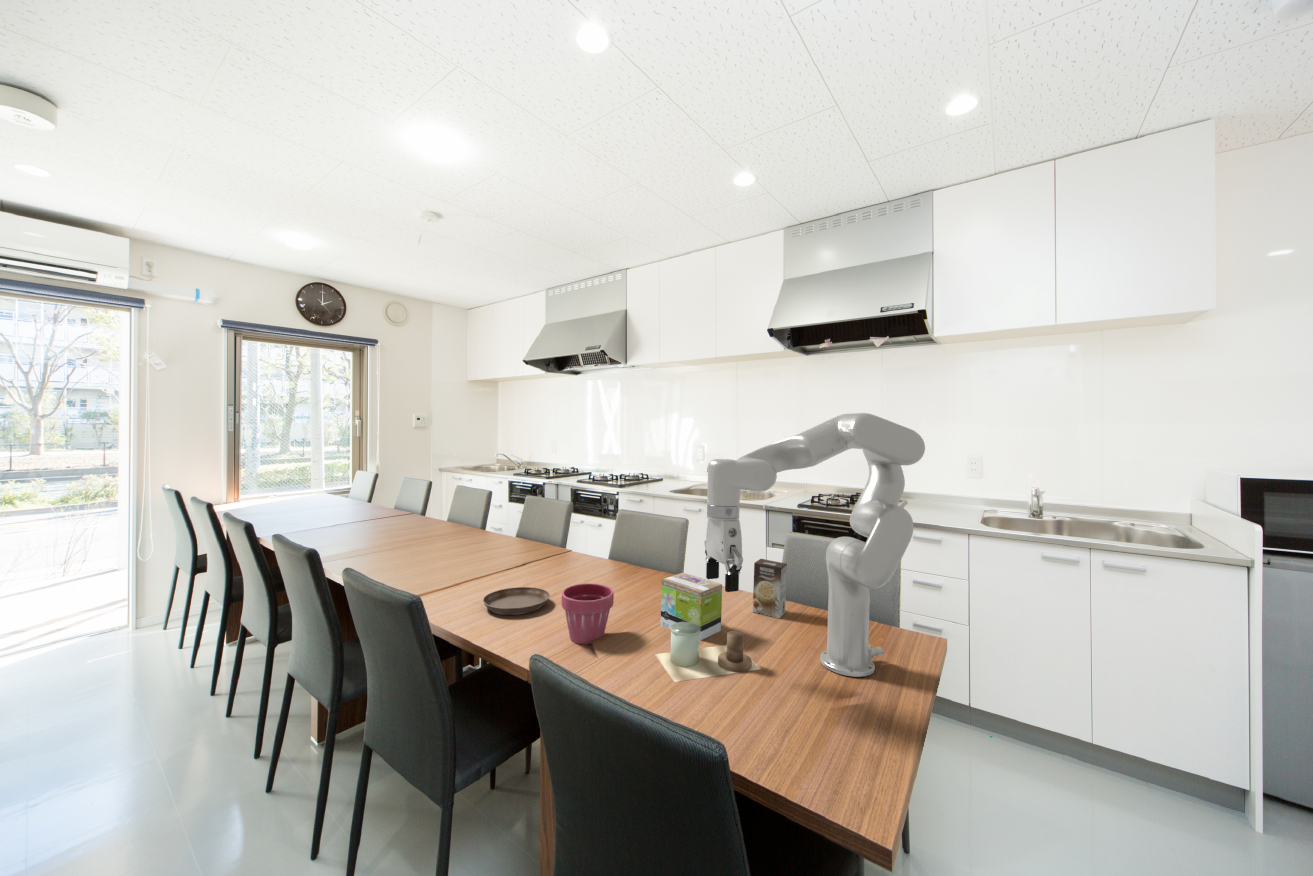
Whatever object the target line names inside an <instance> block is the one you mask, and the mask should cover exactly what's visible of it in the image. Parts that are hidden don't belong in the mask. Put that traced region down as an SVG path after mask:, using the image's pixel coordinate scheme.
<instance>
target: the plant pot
mask: <svg viewBox="0 0 1313 876" xmlns="http://www.w3.org/2000/svg"><path fill="white" fill-rule="evenodd" d="M614 593H615V592H614V589H613V588H611V586H610V587H609V586H607V585H605V584H600V583H590V582H589V583H586V582H585V583H578V584H573V585H570V586H567V587H566V588H564V589H563V591H562V592H561V608H562V609H563V610H564V612H565V618H566V623H567V629H568V634H569V639H570V641H572V642H573V643H574V644H579V645H592V641H594V640H598V639H600V638H602V637H603V636H604V635H605V632H606V628H607V623H608V618H609V614H610V610H611V609H612V607H613V606H614V602H615V601H614V597H615V596H614V595H615V594H614Z"/></svg>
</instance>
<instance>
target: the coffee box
mask: <svg viewBox="0 0 1313 876" xmlns="http://www.w3.org/2000/svg"><path fill="white" fill-rule="evenodd" d="M787 566H788V564H787V563H785V562H781V561H776V560H769V559H764V558H760V559H758V560H756V561H755V562H754V565H753V586H752V587H753V591H752V593H753V594H752V613H754V612H755V613H754V614H758V613H760V614H759V615H762V614H763V615H762V616H766V615H768V616H767V617H770V616H772V617H771V618H775V619H778V618H779V619H780V618H781V617H783V615H785V613H786V598H787V597H786V595H787V593H786V591H787V590H786V589H787V572H788V571H787V569H788V568H787Z"/></svg>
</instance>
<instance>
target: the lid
mask: <svg viewBox="0 0 1313 876" xmlns="http://www.w3.org/2000/svg"><path fill="white" fill-rule="evenodd" d="M744 639H745V636H744V633H743V632H741V631H739V630H738V631H737V630H729V631H727V632H726V645H727V652H723V653H721V654H720V655H719V656H718V664H719V666H720V667H721V668H723V669H725V670H728V671H732V672H739V673H744V671H746V672H748V671H747V670H749V669H750V668H751V665H752V661H753V660H752V657H750V655H748V654H746V653H744V645H745V644H744V641H745V640H744ZM743 653H744V654H743Z"/></svg>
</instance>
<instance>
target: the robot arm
mask: <svg viewBox="0 0 1313 876" xmlns="http://www.w3.org/2000/svg"><path fill="white" fill-rule="evenodd" d="M851 449H854V450H855V449H857V450H858V449H859V450H862V452H863V454H864V457H865V460H866V461H867V466H868V478H867V481H866V483H865V485H864V488H863V490H862V492H861V494H860V496H859V497H858V499H857V501H856V503H855V505H854V507H853V509H852V511H851V514H850V516H849V525H850V527H851V529H852V530H853V531H854V532H855V533H857V534H859V535H861V536H863V537H865V538H867V539H866V541H863V540H860V539H858V538H855V537H852V536H839V537H837V538H834V539H833V540H832V541H831V542H829V544H828V546H827V547H826V550H825V551H826V552H825V564H826V565H825V566H826V570H827V571H826V572H827V580H828V599H827V600H828V601H827V635H826V638H827V639H826V650H823V652H821V653H820V656H819V658H820V660H819V661H820V663H821V664H822V666H823V667H824V668H825V669H828V670H829V671H832V672H834V673H836V674H839V675H842V676H847V677H852V678H853V677H855V678H858V677H859V678H862V677H868V676H871V675H873V674H874V673H875V670H876V669H875V667H876V666H875V663H874V662H873V660H872V659H873V658H874V657H878V656H883V655H884V649H883V648H882V647H881V646H876V647H872V645H870V644H869V637H870V636H869V635H870V633H869V630H870V629H869V628H870V607H871V606H870V604H871V601H870V600H871V598H870V597H871V595H870V589H879V588H882V587H884V586H885V585H887V583H889V581H890V580H891V578H892V577H893V576H894V574H895V572H896V570H897V568H898V567H899V564H900V562H901V561H902V558H903V557H904V555H905V554H906V553H905V552H906V551H907V548H908V547H909V544H910V542H911V539H912V537H913V534H914V521H913V518H912V515H911V513H909V511H908V510H907V509H905V508H904V507H902V506H900V505H899V502H900V500H901V498H902V495H903V493H904V490H905V486H906V485H905V484H906V483H905V480H906V479H905V474H904V471H903V468H902V466H911V465H914V464H916V463H918V462H920V461H921V460H922V458H923V457H924V454H925V452H926V451H925V450H926V444H925V441H924V439H923V437H922V436H921V435H920V434H919V432H916V430H914V429H911V428H909V427H906V426H903V425H901V424H900V423H895V422H893V421H890V420H888V419H886V418H882V417H880V416H878V415H875V414H871V413H869V412H868V413H867V412H859V413H844V414H840V415H837V416H835V417H832V418H830V419H828V420H826V421H823V422H822V423H819V424H818V425H815V426H813V427H811V428H808V429H806V430H805V431H802V432H800V433H797V434H795V435H792V436H789V437H786V438H784V439H781V440H779V441H776V442H773V443H770V444H767V445H765V446H762V447H760V448H758V449H755V450H753V451H751V452H749V453H747V454H745V455H742V456H741V457H739V458H737V459H729V458H714V459H712V460H710V461H709V462H708V465H707V493H706V494H707V496H706V497H707V499H706V500H707V501H706V503H707V504H706V519H707V526H706V535H705V536H706V538H705V539H706V540H704V548H705V550H704V554H705V561H706V562H705V563H706V567H705V569H706V571H705V573H706V574H705V575H706V576H705V578H706V580H716V579H719V578H720V563H721V564H723V565H724V568H725V570H726V573H725V574H724V591H725V592H726V593H733V592H738V591H739V590H740V587H739V586H740V585H739V583H740V582H739V581H740V574H741V570H742V568H743V566H742V565H743V563H744V557H743V543H742V542H743V541H742V540H743V539H742V529H741V522H740V501H741V499H740V496H741V492H740V491H741V490H743V491H749V492H757V493H759V492H765V491H768V490H770V489H771V488H772V487H773V486H774V484H775V483H776V481H777V478H778V477H777V473H781V472H784V471H789V470H801V469H806V468H811V467H812V468H813V467H815V466H817V465H819V464H821V463H823V462H824V461H827V460H829V459H831V458H834V457H836V456H838V455H839V454H841V453H844V452H845V451H848V450H851ZM730 565H732V566H730Z"/></svg>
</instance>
